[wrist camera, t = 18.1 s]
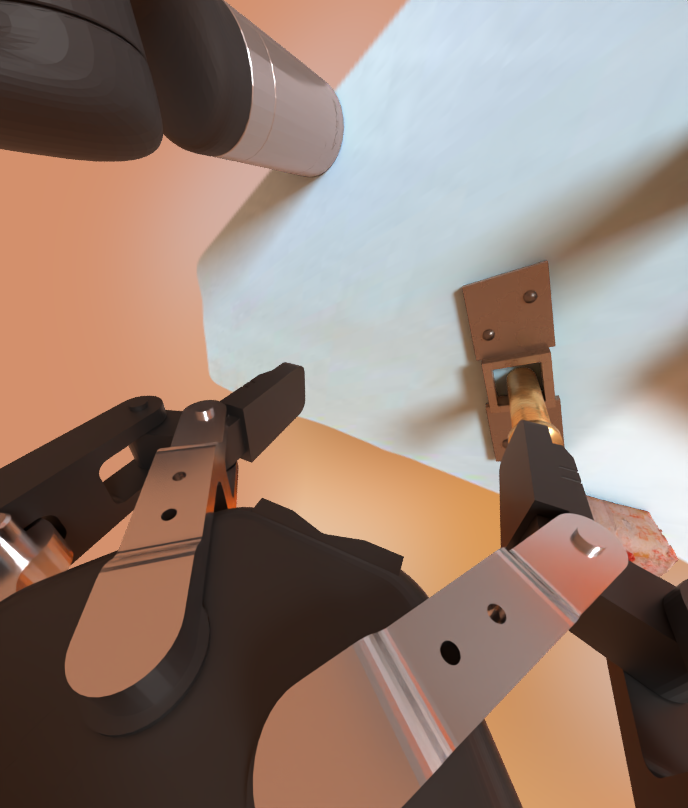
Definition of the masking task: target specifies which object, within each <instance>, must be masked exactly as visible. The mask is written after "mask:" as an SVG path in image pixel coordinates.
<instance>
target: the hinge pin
mask: <svg viewBox="0 0 688 808" xmlns="http://www.w3.org/2000/svg"><path fill="white" fill-rule="evenodd" d="M507 389H508V398H509V406H510V415H511V423H512V429H511V430H510V432H509V435H508V444H509V442H510V439H511V437H512V435H513V433H514V431H515V429H516V426H517V424H518V423H519V421H520V420H526V421H530V422H534V423H538V424H542V425H546V426H548V428H549V431H550V435H551V439H552V443H554V444H558V445H562V446H563V440H562V437H561V434H560V432H559V430H558V429H557V428H556V427H555V426H554V425H552V424H551V422H550V419H549V416H548V412H547V409H546V406H545V402H544V399H543V396H542V393H541V389H540V386H539V383H538V379H537V376H536V374H535V372H534V371H533V370H531V369H529V368H526V367H520V368H516V369H514V370H512V371H511V372H510V373H509V374H508V376H507Z"/></svg>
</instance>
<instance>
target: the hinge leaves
mask: <svg viewBox="0 0 688 808" xmlns="http://www.w3.org/2000/svg"><path fill="white" fill-rule="evenodd" d="M462 289H463V294H464V299H465V304H466V309H467V314H468V319H469V325H470V330H471V335H472V340H473V345H474V350H475V355H476V360H482V369H483V374H484V380H485V385H486V390H487V395H488V401H489V403H488V404H486V411H487V416H488V421H489V427H490V432H491V437H492V442H493V447H494V452H495V457H496V461H501V460H502V457H503V455H504V452H505V450H506V448H507V446H508V435H509V432H510V430H511V429H512V423H511V415H510V406H509V398H508V395H505V396H497V391H496V385H495V379H494V374H493V370H494V369H500V368H506V367H512V366H519V365H525V364H531V363H537V362H540V369H541V378H542V387H543V391H541V393H542V396H543V399H544V402H545V406H546V409H547V412H548V416H549V419H550V422H551V424H552V425H554V426H555V427H556V428H557V429H558V430H559V432H560V434H561V437H562V440H563V447H564V438H563V426H562V415H561V404H560V398H559V395H558V396H555V392H554V382H553V371H552V361H551V352H550V349H549V347H553V346H555V336H554V324H553V313H552V302H551V290H550V279H549V268H548V261H547V260H546V261H543V262H539V263H536V264H533V265H529V266H526V267H523V268H520V269H516V270H513V271H510V272H507V273H503V274H500V275H497V276H494V277H490V278H487V279H484V280H481V281H477V282H474V283H471V284H467V285H464V286H463V287H462Z"/></svg>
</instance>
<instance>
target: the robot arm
mask: <svg viewBox="0 0 688 808" xmlns="http://www.w3.org/2000/svg"><path fill="white" fill-rule="evenodd" d="M343 131H344V125H343V114H342V109H341V105H340V102H339V100H338V97H337V95H336V94H335V92H334V90H333V89H332V88H331V87H330V85H329V84H328V83H327V82H325V81H324V80H323V79H322V78H321V77H319V76H318V75H317V74H316V73H314V72H313V71H312V70H311V69H310V68H308V67H307V66H306V65H305V64H303V63H302V62H301V61H300V60H298V59H297V58H296V57H295V56H293V55H292V54H291V53H290V52H288V51H287V50H286V49H285V48H283V47H282V46H281V45H280V44H278V43H277V42H276V41H274V40H273V39H272V38H271V37H269V36H268V35H267V34H266V33H265V32H263V31H262V30H261V29H259V28H258V27H257V26H256V25H254V24H253V23H252V22H251V21H250V20H248V19H247V18H246V17H244V16H243V15H242V14H240V13H239V12H238V11H237V10H235V9H234V8H233V7H232V6H230V5H229V4H228V3H227V2H225V1H224V0H0V149H5V150H10V151H17V152H23V153H30V154H37V155H45V156H52V157H59V158H66V159H75V160H87V161H128V160H135V159H140V158H143V157H145V156H148V155H150V154H151V153H153V152H154V151H155V150H156V149H157V148H158V147H159V146H160V143H161V141H162V138H163V134H164V135H165V136H166V137H167V138H168V139H169V140H170V141H172V142H173V143H174V144H176V145H177V146H179V147H181V148H183V149H185V150H187V151H190V152H194V153H197V154H202V155H207V156H213V157H217V158H222V159H226V160H232V161H237V162H241V163H246V164H251V165H255V166H260V167H264V168H269V169H274V170H278V171H283V172H288V173H291V174H296V175H301V176H306V177H314V176H318V175H320V174H322V173H324V172H325V171H326V170H327V169H328V168H330V167H331V165H332V164H333V162H334V161H335V159H336V158H337V155H338V153H339V151H340V147H341V144H342V140H343ZM304 404H305V373H304V368H303V367H302V366H299V365H295V364H291V363H287V362H284V363H282V364H281V365H279V366H278V367H276V368H275V369H274V370H272V371H269V372H266V373H263V374H260V375H258V376H257V377H255V378H254V379H252V380H251V381H250V382H248V383H246V384H245V385H243V387H240V388H239V389H237V390H236V391H234V392H233V393H231V394H230V395H229V396H227V397H225V398H224V399H223V400H221V401H215V400H205V401H200V402H197V403H194V404H192V405H190V406H188V407H187V408H185V409H184V410H183V411H172V410H165V408H164V405H163V402H162V400H161V399H160V398H159V397H156V396H140V397H135V398H132V399H129V400H127V401H125V402H123V403H121V404H119V405H117V406H115V407H113V408H112V409H110V410H108V411H106V412H104V413H102V414H100V415H99V416H97V417H95V418H93V419H91V420H89V421H88V422H86V423H84V424H82V425H80V426H78V427H76V428H74V429H73V430H71V431H69V432H67V433H65V434H63V435H62V436H60V437H58V438H56V439H54V440H52V441H51V442H49V443H47V444H45V445H43V446H41V447H39V448H38V449H36V450H34V451H32V452H30V453H28V454H26V455H25V456H23V457H21V458H19V459H17V460H15V461H14V462H12V463H10V464H8V465H6V466H4V467H2V468H1V469H0V808H522V805H521V802H520V800H519V798H518V796H517V793H516V791H515V789H514V786H513V784H512V782H511V779H510V777H509V775H508V773H507V770H506V768H505V765H504V763H503V761H502V758H501V756H500V754H499V752H498V749H497V747H496V745H495V742H494V740H493V738H492V735H491V733H490V731H489V729H488V726H487V724H486V721H485V719H484V718H485V717H486V716H487V715H488V714H489V713H490V712H491V711H492V710H493V709H494V708H495V707H496V706H497V705H498V704H499V703H500V701H501V700H502V699H503V698H504V697H505V696H506V695H507V694H508V693H509V692H510V691H511V690H512V689H513V688H514V687H515V686H516V684H518V683H519V681H520V680H521V679H522V678H523V677H524V676H525V675H526V674H527V673H528V672H529V671H530V670H531V669H532V668H533V667H534V666H535V665H536V664H537V662H538V661H539V660H540V659H541V658H542V657H543V656H544V655H545V654H546V653H547V652H548V651H549V650H550V649H551V648H552V647H553V646H554V645H555V644H556V642H557V641H558V640H559V639H560V638H561V637H562V636H563V635H564V634H565V633H566V632H567V631H568V630H569V631H570V632H571V633H573V634H574V635H576V636H577V637H578V638H580V639H581V640H583V641H584V642H585V643H587V644H588V645H590V646H591V647H592V648H594V649H595V650H596V651H598V652H599V653H601V654H602V655H603V656H605V657H606V659H607V665H608V669H609V675H610V680H611V685H612V690H613V695H614V700H615V705H616V710H617V715H618V720H619V726H620V731H621V736H622V740H623V746H624V751H625V756H626V761H627V766H628V771H629V776H630V781H631V787H632V791H633V797H634V801H635V807H636V808H688V579H687V580H685V581H683V582H682V583H680V584H679V585H678V586H677V587H676V586H674V585H672V584H670V583H669V582H667V581H665V580H663V579H661V578H660V577H658V576H656V575H654V574H652V573H650V572H649V571H647V570H645V569H643V568H641V567H640V566H638V565H636V564H634V563H633V562H631V561H629V560H628V555H627V552H626V550H625V548H624V546H623V545H622V544H621V542H620V541H619V540H618V539H617V538H616V537H615V536H614V535H613V534H612V533H611V532H610V531H609V530H607V529H606V528H605V527H603V526H602V525H600V524H599V523H597V522H595V521H594V518H593V515H592V512H591V509H590V506H589V503H588V500H587V497H586V494H585V491H584V488H583V485H582V484H581V479H580V476H579V473H577V471H578V470H577V467H576V464H575V461H574V458H573V457H572V456H571V455H570V454H569V452H568V451H567V450H566V449H565V448H564V447H563V446H562V445H558V444H554V443H552V439H551V435H550V431H549V428H548V426H546V425H542V424H538V423H534V422H530V421H526V420H520V421H519V423H518V424H517V426H516V429H515V431H514V433H513V435H512V437H511V439H510V442H509V444H508V446H507V448H506V450H505V452H504V455H503V457H502V460H501V464H500V470H499V480H500V527H501V548H500V549H499V550H497V551H496V552H494V553H493V554H491V555H490V556H488V557H487V558H486V559H484V560H483V561H481V562H480V563H478V564H477V565H476V566H474V567H473V568H471V569H470V570H469V571H467V572H466V573H464V574H463V575H461V576H460V577H458V578H457V579H456V580H454V581H453V582H451V583H450V584H449V585H447V586H446V587H444V588H443V589H441V590H440V591H438V592H437V593H436V594H434V595H433V596H431V597H430V598H429V597H428V596H427V595H426V593H425V592H424V591H423V590H422V589H421V587H420V586H419V585H418V584H417V583H416V582H415V581H414V580H413V579H412V578H411V577H410V576H409V575H407V574H406V573H404V572H403V571H402V570H401V566H402V562H403V558H404V557H403V556H401V555H398V554H396V553H394V552H391V551H389V550H386V549H384V548H382V547H379V546H377V545H374V544H372V543H370V542H367V541H364V540H359V539H352V538H346V537H339V536H334V535H327V534H323V533H321V532H320V531H318V530H317V529H316V528H315V527H313V526H312V525H311V524H309V523H308V522H307V521H306V520H304V519H303V518H302V517H300V516H299V515H298V514H297V513H295V512H294V511H293V510H290V509H288V508H285V507H283V506H281V505H278V504H276V503H273V502H271V501H269V500H266V499H264V498H262V499H261V500H260V501H259V502H258V503H257V505H256V506H255V507H254V508H252V507H239V508H236V504H237V485H238V463H237V460H238V459H239V458H241V459H244V460H246V461H249V462H253V461H254V460H255V459H256V458H257V457H258V456H259V455H260V454H261V453H262V452H263V451H264V450H265V449H266V448H267V447H268V446H269V444H271V443H272V441H274V440H275V439H276V437H277V436H278V435H279V434H280V433H281V432H282V431H283V430H284V429H285V428H286V427H287V426H288V425H289V424H290V423H291V422H292V421H293V420H294V419H295V418H296V417H297V416H298V415H299V414H300V413H301V412H302V410H303V407H304ZM128 445H129V448H130V450H131V452H132V454H133V456H134V458H135V459H134V460H132V461H131V462H130V463H129V464H127V465H126V466H124V467H123V468H121V469H120V470H119V471H118V472H116V473H115V474H113V475H112V476H111V477H109V478H108V479H107V480H105V481H104V482H102V480H101V479H100V477H99V470H100V467H101V466H102V464H103V463H104V462H105V461H106V460H108V459H109V458H110V457H112V456H113V455H115V454H116V453H118V452H119V451H121V450H122V449H124V448H125V447H127V446H128ZM133 510H134V511H133ZM132 511H133V514H132V517H131V519H130V522H129V524H128V527H127V529H126V532H125V535H124V537H123V540H122V542H121V545H120V547H119V550H117V551H115V552H112V553H110V554H107V555H105V556H102V557H99V558H97V559H95V560H92V561H89V562H87V563H84V564H81V565H79V566H76V567H74V568H71V569H69V570H68V568H69V566H70V565H71V564H73V563H74V562H75V561H76V560H77V559H78V558H79V557H81V556H82V555H83V554H84V553H85V552H86V551H87V550H89V549H90V548H91V547H92V546H93V545H94V544H95V543H96V542H98V541H99V540H100V539H101V538H102V537H103V536H104V535H106V534H107V533H108V532H109V531H110V530H111V529H112V528H114V527H115V526H116V525H117V524H118V523H119V522H120V521H121V520H123V519H124V518H125V517H126V516H127V515H128V514H130V513H131V512H132Z"/></svg>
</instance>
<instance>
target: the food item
mask: <svg viewBox="0 0 688 808" xmlns="http://www.w3.org/2000/svg"><path fill="white" fill-rule="evenodd" d="M586 497H587V500H588V503H589V506H590V509H591V512H592V515H593V518H594V521H595V522H597V523H599V524H600V525H602V526H603V527H605V528H606V529H607V530H609V531H610V532H611V533H612V534H613V535H614V536H615V537H616V538H617V539H618V540H619V541H620V542H621V544H622V545H623V546H624V548H625V550H626V552H627V555H628V560H629V561H631V562H633V563H634V564H636V565H638V566H640V567H641V568H643V569H645V570H647V571H649V572H650V573H652V574H654V575H656V576H658V577H660V576H662V575H663V574H665V573H667V572H668V570H669V569H670V568H671V567H672V566H673V565H674V563H675V562H677V561H678V558H677V556H676V554H675V552H674V550H673V549H672V547H671V545H669V544H668V542H667V540H666V538H665V537H664V535H662V533H661V532H662V530H659V528H658V526H657V525H656V524H655V522H654V521H653V519H652V517H651V515H650V513H649V512H647V511H644V510H639V509H635V508H631V507H628V506H624V505H619V504H615V503H612V502H608V501H605V500H600V499H597V498H594V497H590V496H587V495H586Z"/></svg>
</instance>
